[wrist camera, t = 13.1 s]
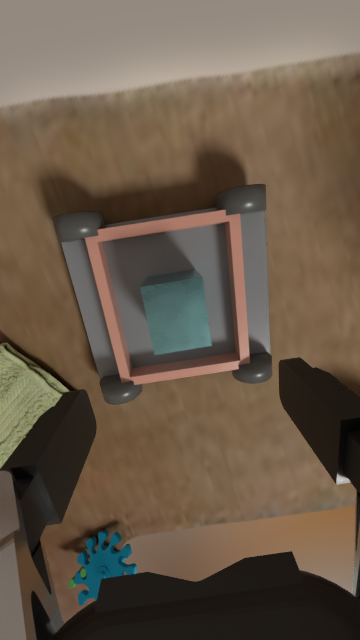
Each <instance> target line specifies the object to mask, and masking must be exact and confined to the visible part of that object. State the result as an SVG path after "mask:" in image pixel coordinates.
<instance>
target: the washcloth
mask: <svg viewBox="0 0 360 640" xmlns="http://www.w3.org/2000/svg"><path fill="white" fill-rule="evenodd" d="M69 391H70V390H68V389H67V388H66V387H65V386H64V385H62V384H61V383H60V382H59V381H58V380H57V379H55V378H54V377H53V376H51V374H50V373H49V372H46V371H45V370H44V369H42V368H41V367H40V366H38V365H37V364H36V363H34V362H33V361H31V360H30V359H28V358H27V357H25V356H24V355H22V354H21V353H19V352H17V351H16V350H15V349H14V348H13V347H11V345H9V344H8V343H5V342H4V343H2V344H0V469H1V467H2V466H3V465H4V463H5V462H6V461H7V459H8V458H9V457H10V455H11V454H12V453H13V451H14V450H15V449H16V447H17V446H18V445H19V443H20V442H21V441H22V439H23V438H25V437H26V434H27V433H28V432H29V430H30V429H32V426H33V425H34V424H35V422H36V421H37V420H38V418H39V417H40V416H41V415H42V414H43V413H45V412H46V411H47V410H48V409H50V408H51V407H52V406H55V404H56V403H57V402H58V400H59V399H60V397H61V396H62V395H63V393H65V392H69Z"/></svg>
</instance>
